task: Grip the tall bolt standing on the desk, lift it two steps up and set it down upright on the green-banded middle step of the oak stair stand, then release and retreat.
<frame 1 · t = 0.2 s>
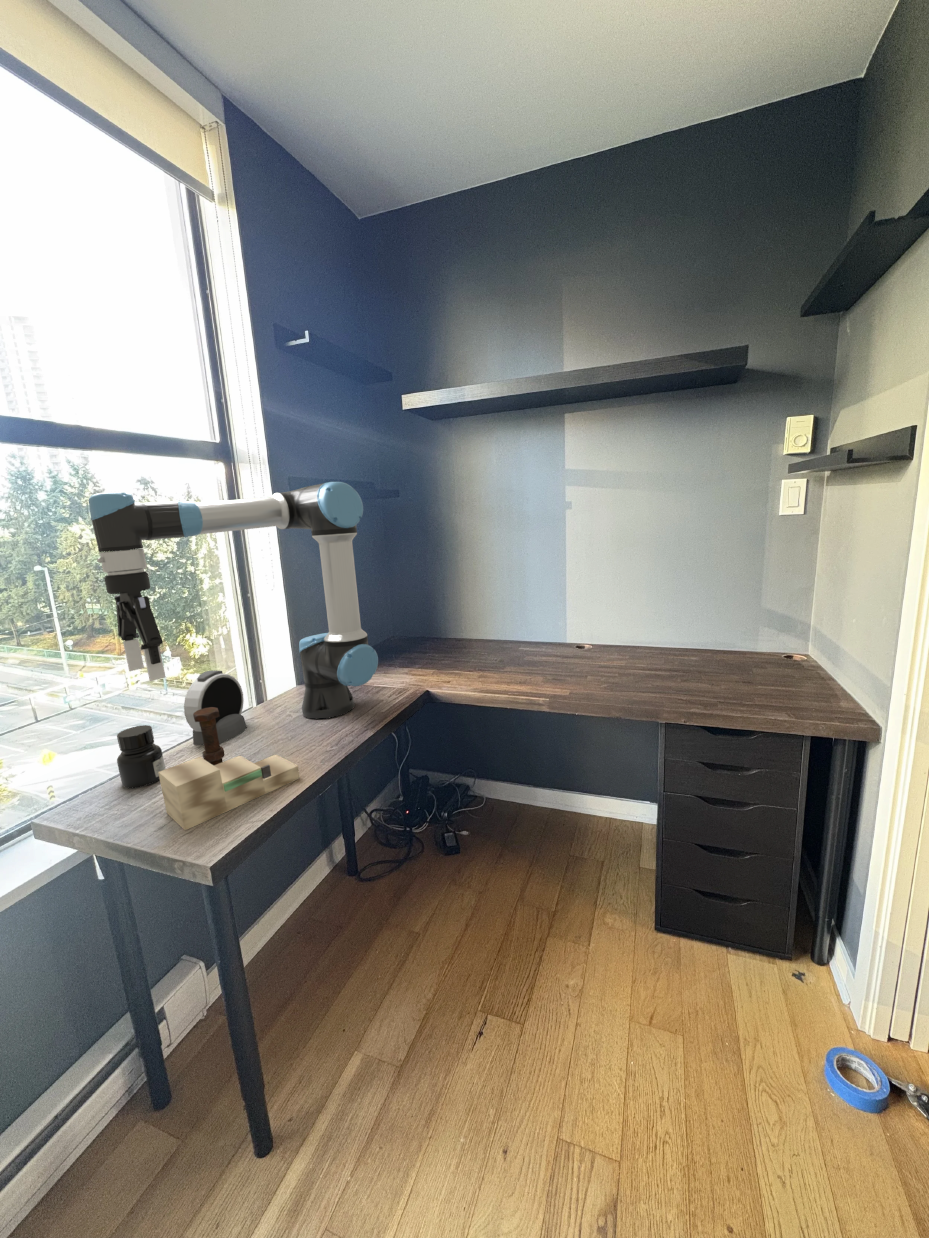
hand: (146, 674, 110), 27 cm above the table, tool pointing down, fingers open, 13 cm apart
bolt: (217, 772, 123), on the table
stair stand: (236, 794, 112), on the table
ink bottle: (145, 780, 122), on the table
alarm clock: (221, 736, 145), on the table
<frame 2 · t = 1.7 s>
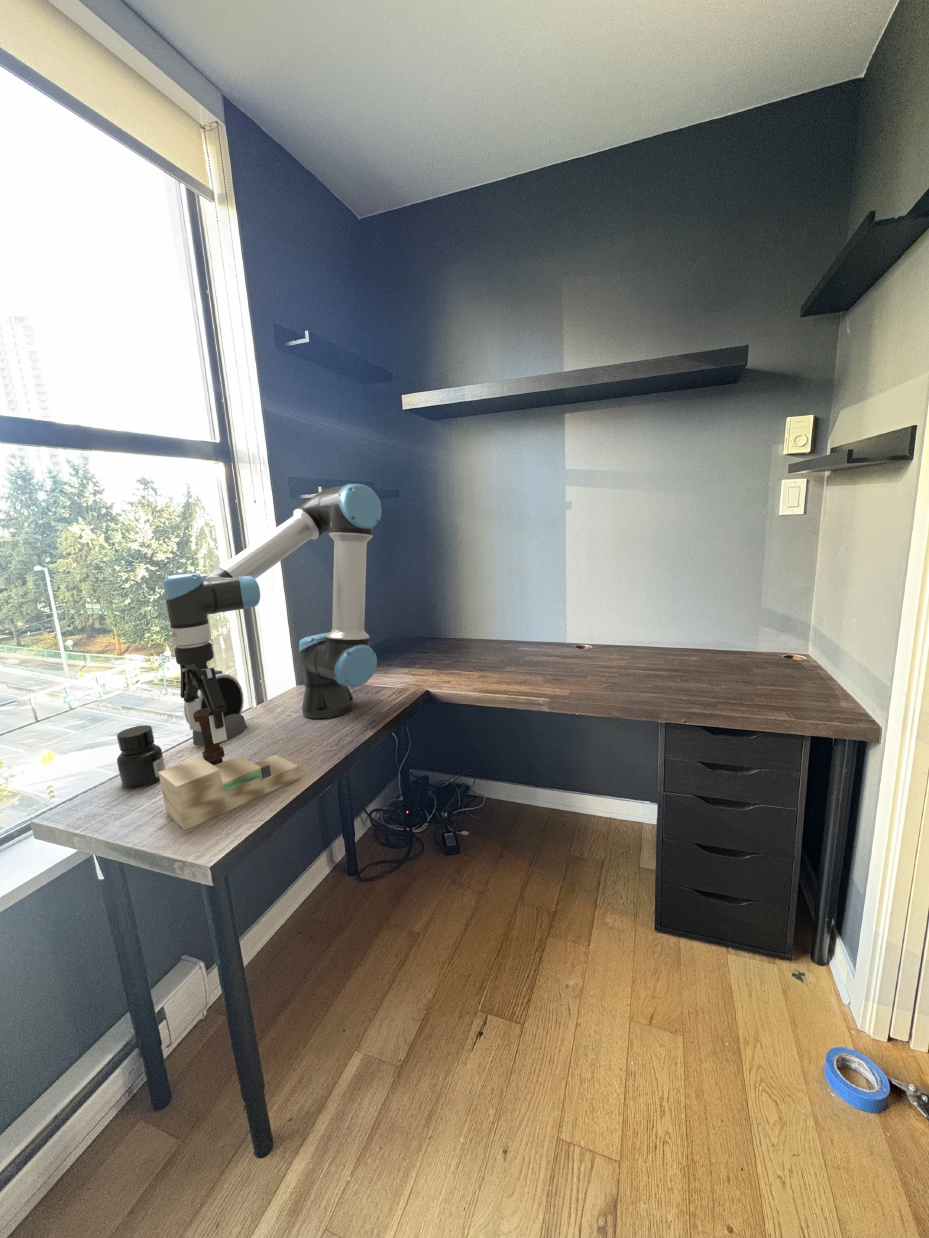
hand: (207, 734, 121), 9 cm above the table, tool pointing down, fingers open, 13 cm apart
nothing on the table moved.
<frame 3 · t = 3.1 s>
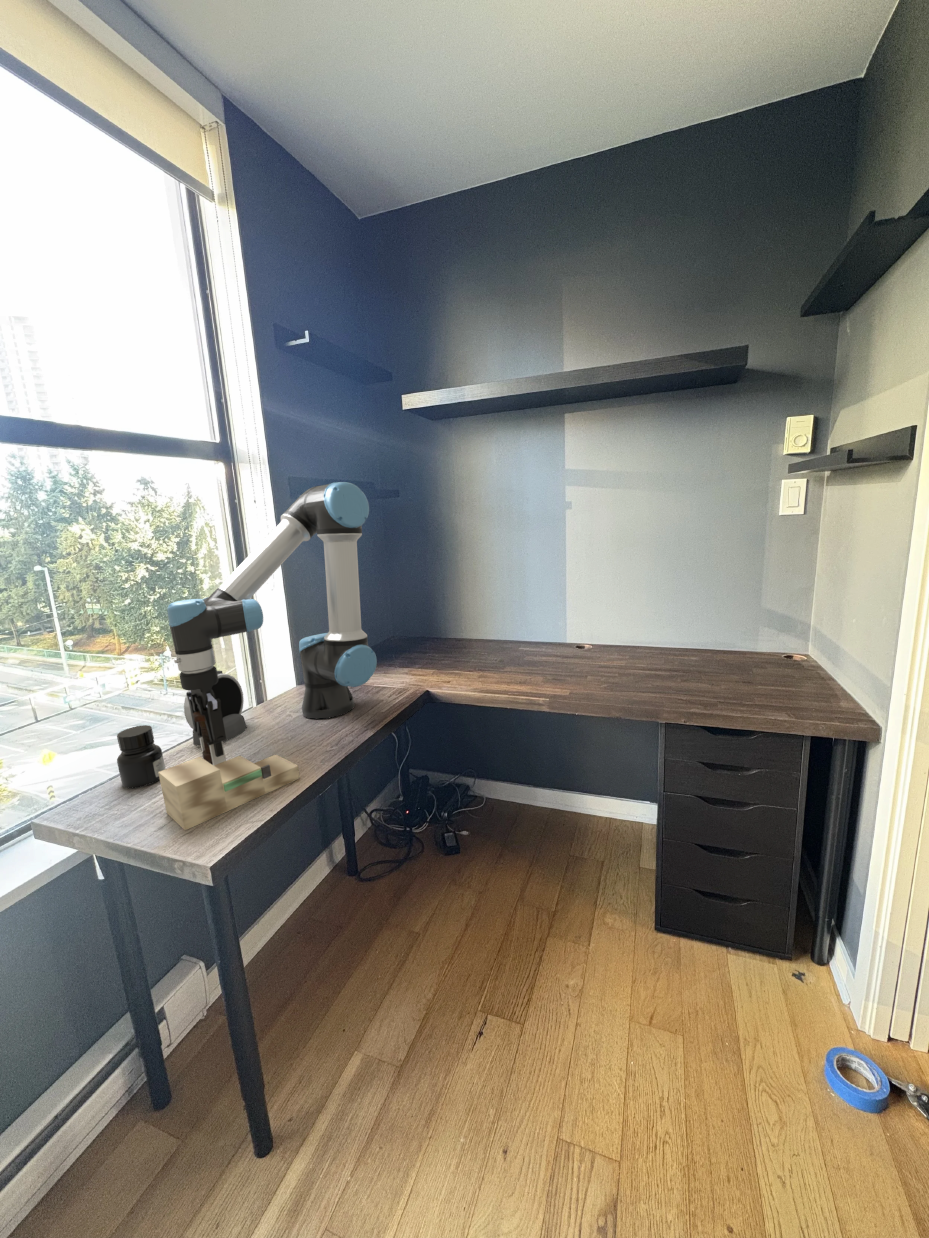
hand: (215, 764, 123), 2 cm above the table, tool pointing down, fingers closed on bolt, 5 cm apart
bolt: (217, 772, 123), on the table, touching gripper
everything else where it was.
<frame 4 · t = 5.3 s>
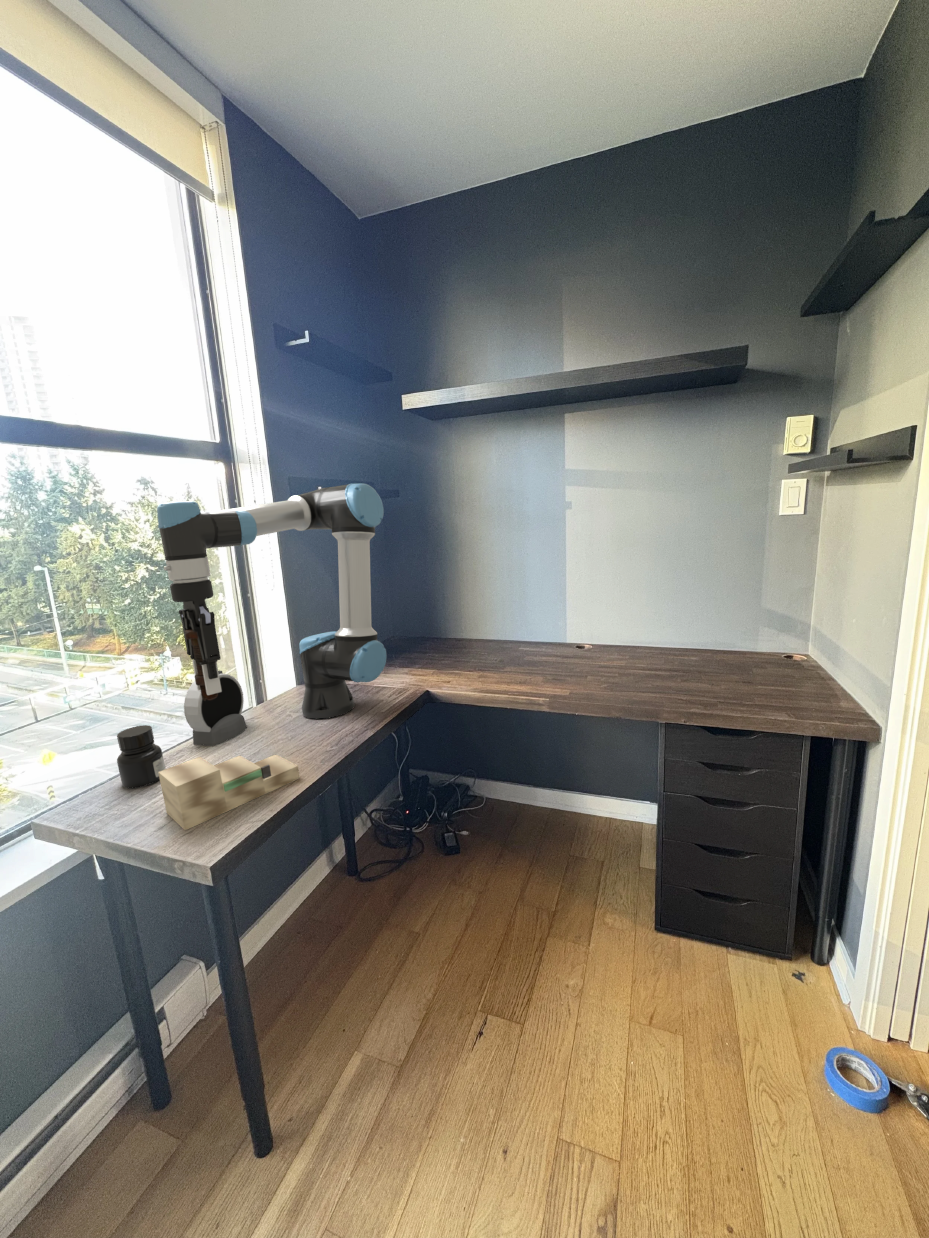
hand: (209, 690, 111), 22 cm above the table, tool pointing down, fingers closed on bolt, 5 cm apart
bolt: (210, 699, 111), point 20 cm above the table, touching gripper
everything else where it was.
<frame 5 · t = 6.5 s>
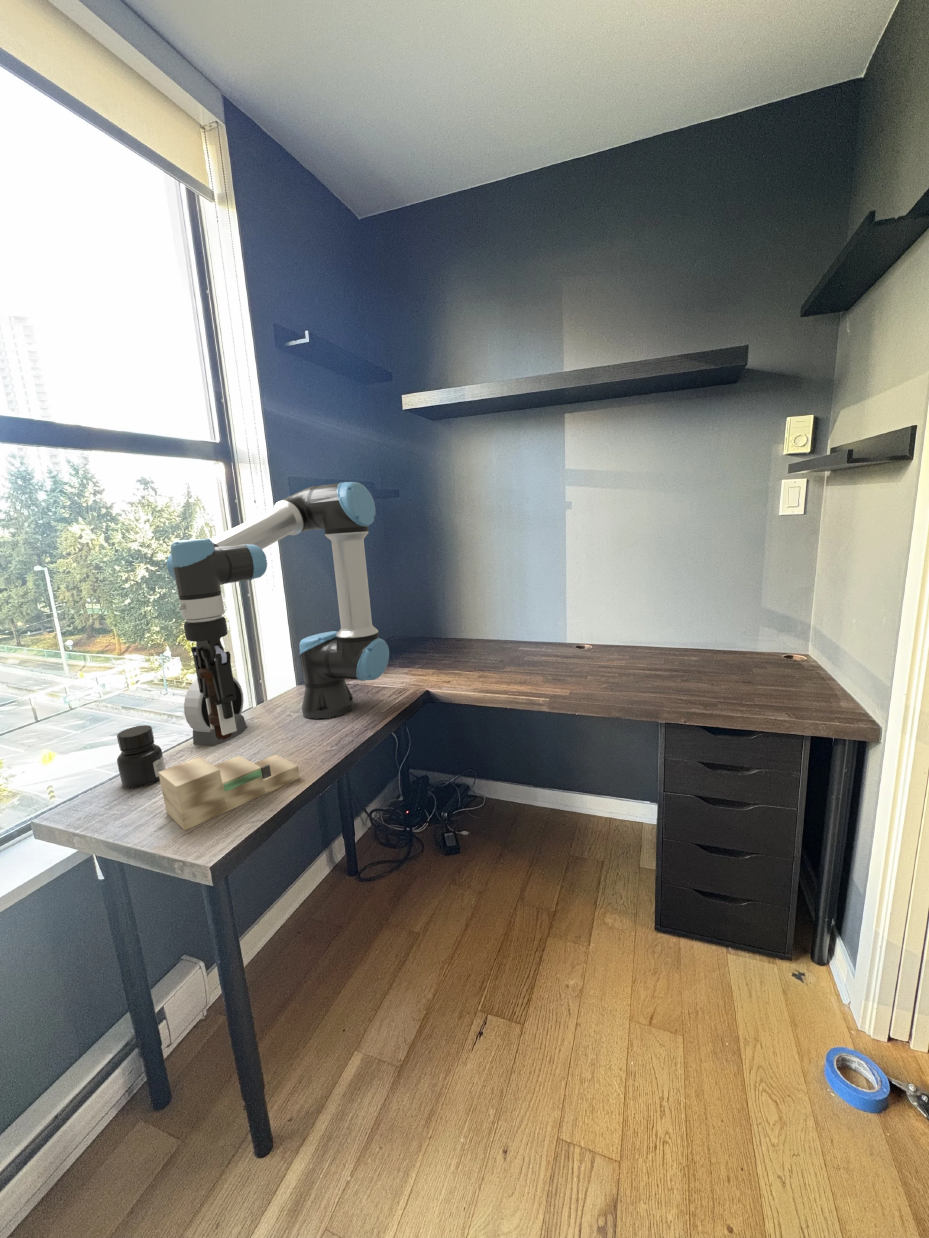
hand: (223, 729, 109), 15 cm above the table, tool pointing down, fingers closed on bolt, 5 cm apart
bolt: (224, 738, 109), point 13 cm above the table, touching gripper
everything else where it was.
when the fingers open (9 cm above the table, at t = 7.4 s): bolt stays where it is, resting on stair stand.
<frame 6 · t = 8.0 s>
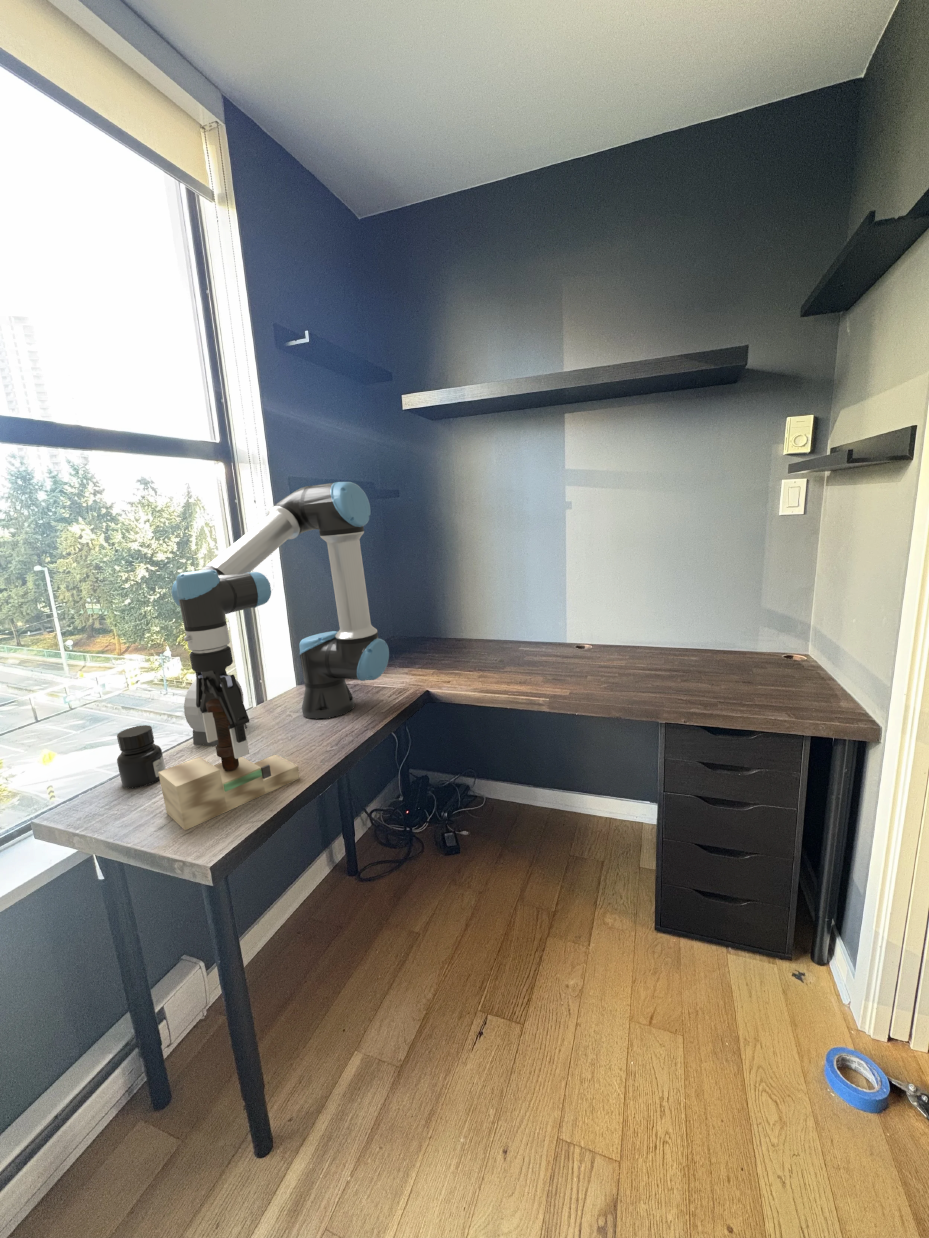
hand: (227, 747, 110), 11 cm above the table, tool pointing down, fingers open, 13 cm apart
bolt: (231, 769, 110), point 6 cm above the table, touching stair stand
everything else where it was.
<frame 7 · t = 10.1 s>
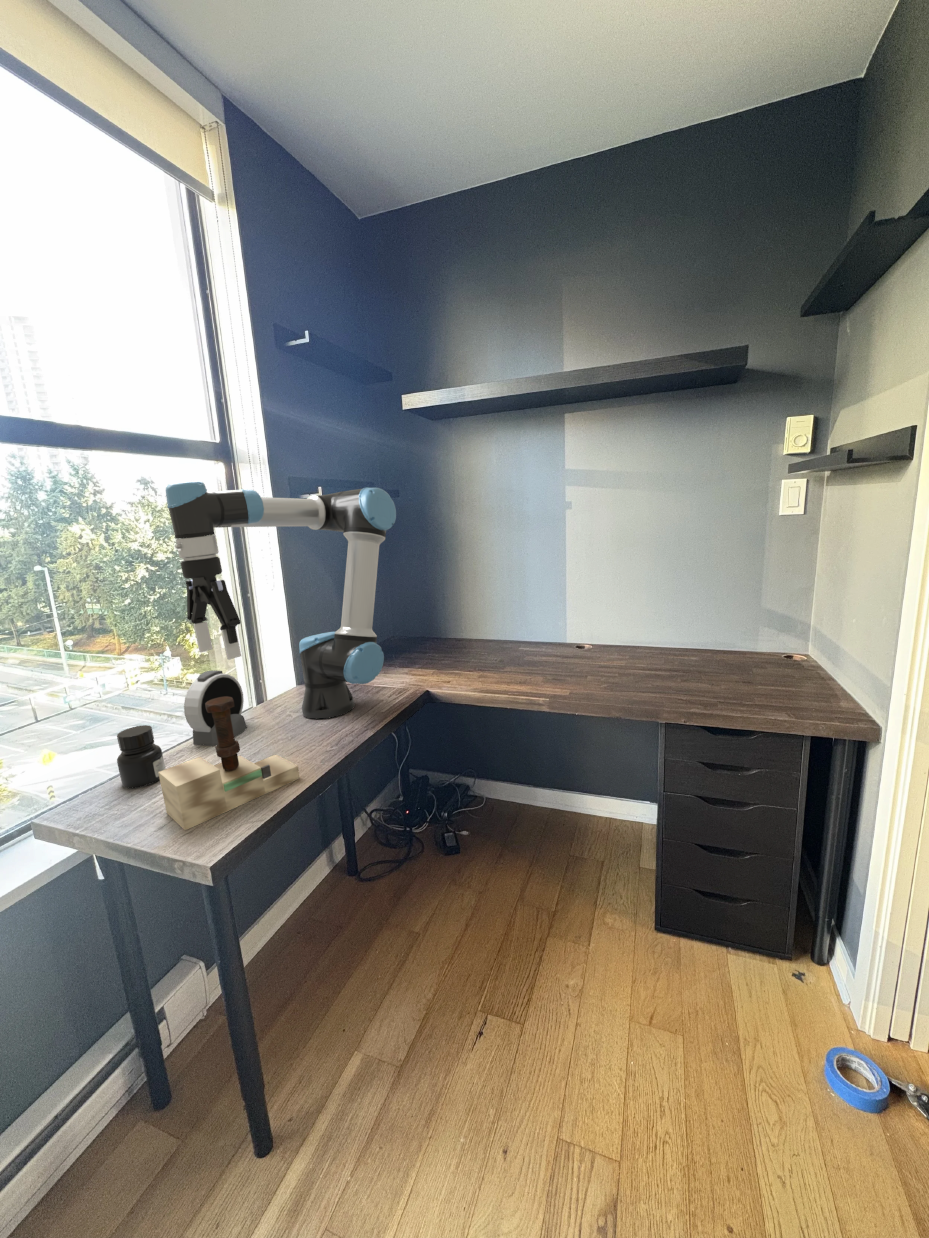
hand: (219, 654, 116), 28 cm above the table, tool pointing down, fingers open, 13 cm apart
nothing on the table moved.
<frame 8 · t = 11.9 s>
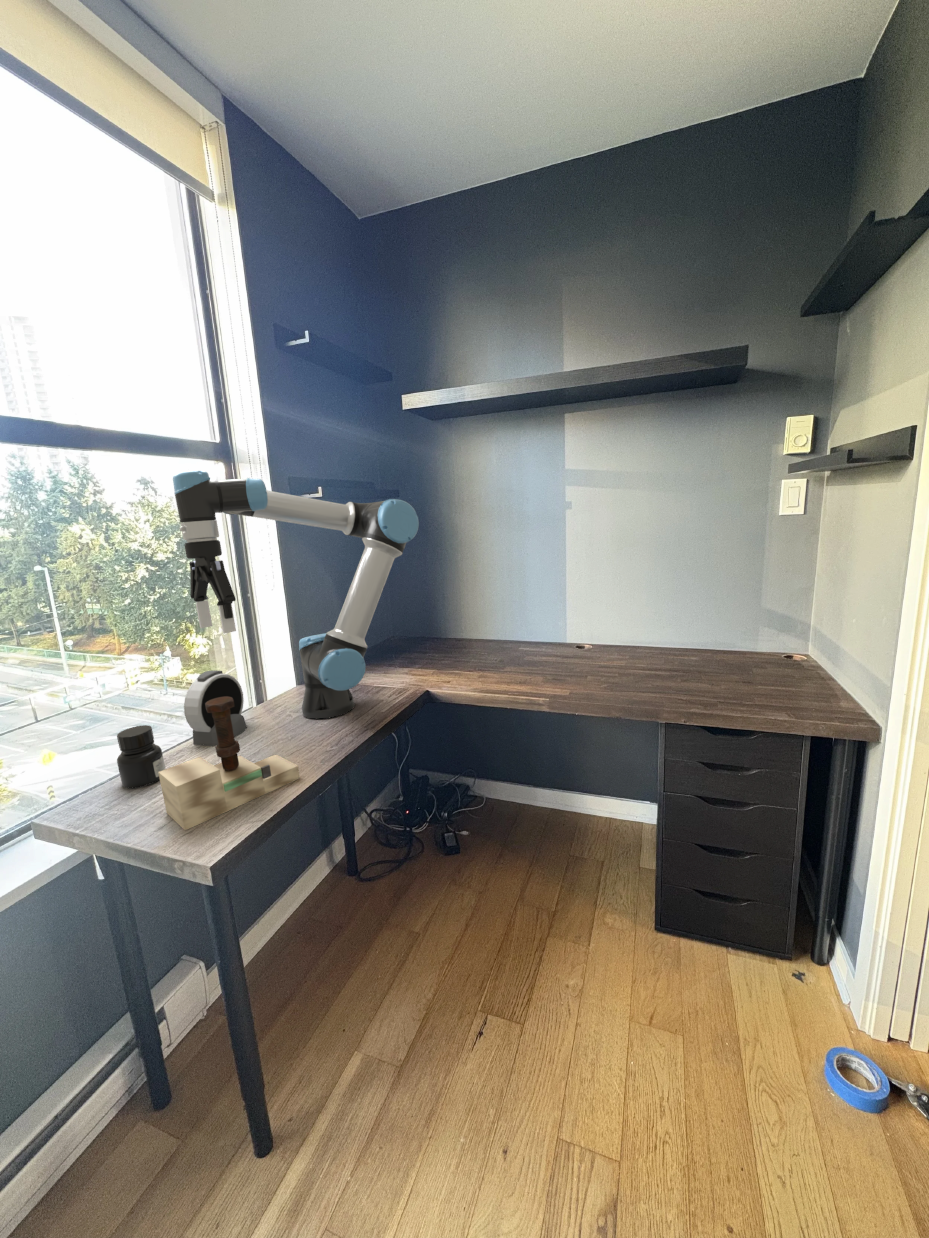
hand: (217, 629, 127), 32 cm above the table, tool pointing down, fingers open, 13 cm apart
nothing on the table moved.
at the end: bolt inside the target area on the stair stand (0.0 cm from its centre), point 5.8 cm above the stair stand's base; bolt tilted 0°; the gripper is holding nothing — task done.
